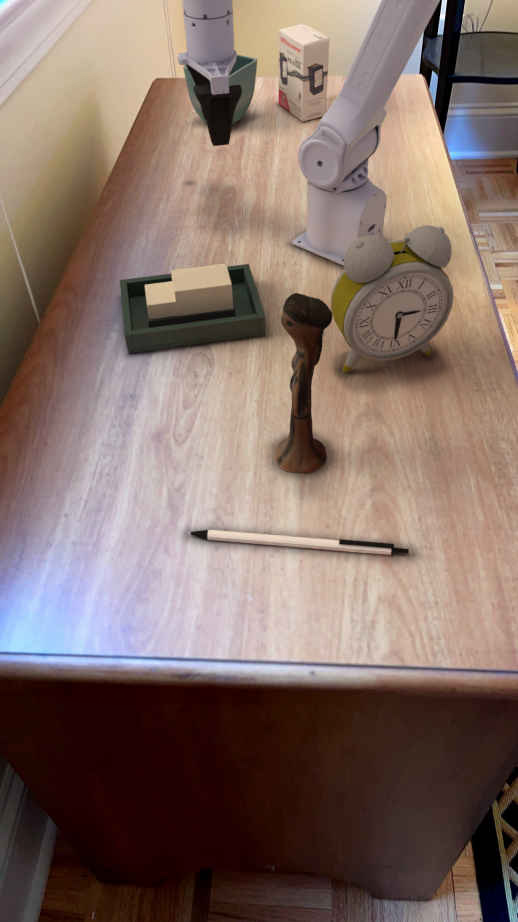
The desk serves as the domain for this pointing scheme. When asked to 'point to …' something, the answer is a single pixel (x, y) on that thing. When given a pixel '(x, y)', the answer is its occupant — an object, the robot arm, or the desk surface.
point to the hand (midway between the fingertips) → (216, 131)
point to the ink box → (303, 71)
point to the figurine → (303, 382)
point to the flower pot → (239, 75)
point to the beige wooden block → (190, 296)
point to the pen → (300, 542)
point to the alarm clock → (393, 294)
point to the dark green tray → (193, 333)
